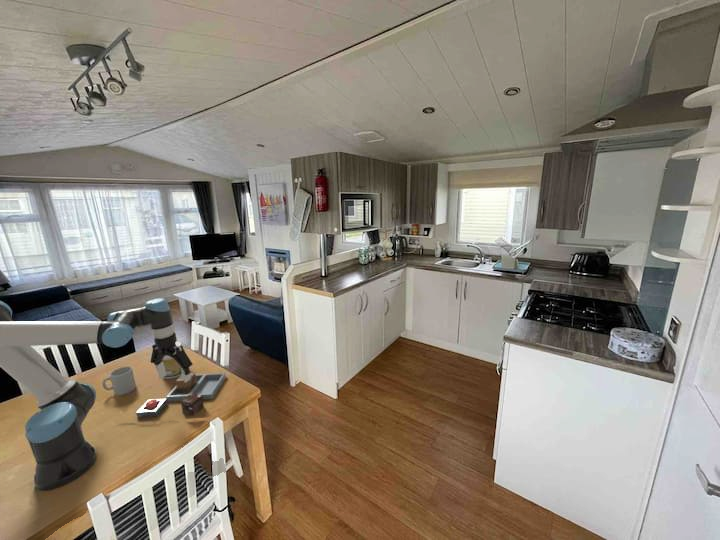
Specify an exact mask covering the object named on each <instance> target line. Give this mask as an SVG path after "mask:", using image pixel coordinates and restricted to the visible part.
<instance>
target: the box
mask: <svg viewBox="0 0 720 540" xmlns="http://www.w3.org/2000/svg"><path fill="white" fill-rule="evenodd" d="M180 404H181V405H180V406H181V409H182V411H181V412H182V414H184V415H189V416H193V417H194V416H195V415H196V414H197V413H198V412H200V410H202V409H203V408H204V407H205V406H204V400H203V398H202V395H199V394H194V393H191V394H190V395H188V396H187V397H186V398H184V399H183V400H182V401H180Z"/></svg>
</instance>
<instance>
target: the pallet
mask: <svg viewBox="0 0 720 540" xmlns="http://www.w3.org/2000/svg"><path fill="white" fill-rule="evenodd" d="M195 375H196V381H197V384H196V385H195V386H194V388H193V389H192V390H191V391H190V393H179V394H178V389H177V384H176V385H175V386H174V387H173V388H172V389H171V391H170V392H169V393H168V394H167V395H166V396H165V399H167V403H168V402H181V401H182V400H183V399H184V398H186V397H187V396H188V395H190V394H191V393H194V394H199V395H202V398H203V401H205V400H213V399H214V398H215V396H216V394H217V393H218V391H219V390H220V388H221V386H222V385H223V383H224V382H225V380H226V379H227V373H226V372H219V373H217V372H216V373H199V374H196V373H195Z"/></svg>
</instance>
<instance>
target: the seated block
mask: <svg viewBox="0 0 720 540" xmlns="http://www.w3.org/2000/svg"><path fill="white" fill-rule="evenodd" d="M190 377H191V379H190V380H189V381H187V382H186V383H184V380H183V375H180V376H178V378H177V379H176V381H175V382H176V383H175V384H176V385H177V389H178V394H179V393H190V391H191V390H192V389H193V388H194V386H195V385H196V384H197V381H196V373H195V372H190Z"/></svg>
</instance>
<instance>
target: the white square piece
mask: <svg viewBox="0 0 720 540" xmlns="http://www.w3.org/2000/svg"><path fill="white" fill-rule="evenodd" d="M154 399H155V398H154ZM154 399H152V398H151V399H148V400H146V402H144V403H143V405H141V407H140V408H139V409H138V410H137V411H136V413H135V414H136V418H137V419H141V418H142V419H143V418H157V417H158V416H159V415H160V414H161V412H162V411H163V410H164V409H165V408H166V407H167V405H168V402H167V399H166V398H156V399H155V400H157V404H158V405H157V406H156V407H155V409H147V408H146V403H147V402H148V401H150V400H154Z"/></svg>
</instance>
